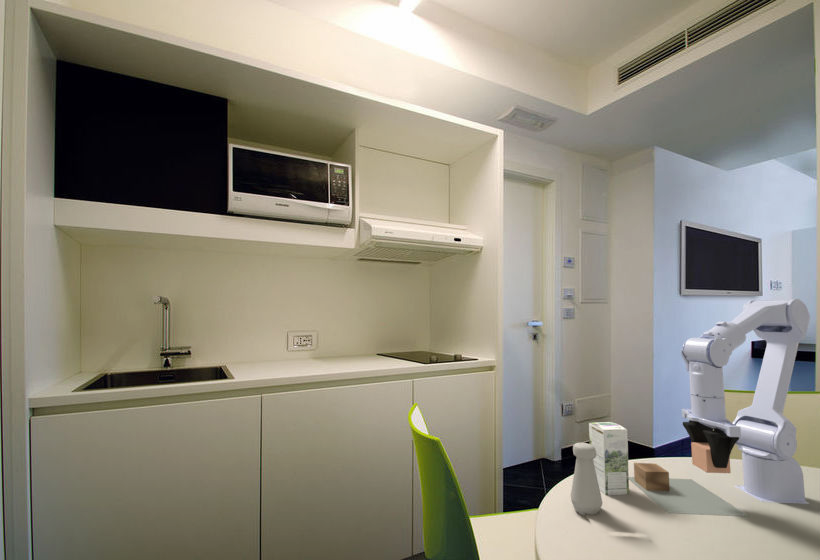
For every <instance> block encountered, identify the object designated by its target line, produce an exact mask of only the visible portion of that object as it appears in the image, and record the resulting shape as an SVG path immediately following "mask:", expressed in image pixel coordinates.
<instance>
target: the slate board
mask: <svg viewBox="0 0 820 560" xmlns="http://www.w3.org/2000/svg"><path fill="white" fill-rule="evenodd" d="M629 481H630V482H631V483H632V484H633V485H635V487H636V488H638V489H639V490H640V491H642V492H643V493H644V494H645V495H647V497H648V498H650V499H651V500H652V501H653V502H655V504H657V505H658V506H659V507H661V508H662V509H663V510H664V511H665V512H667V513H668V514H674V515H675V514H678V515H679V514H680V515H704V516H706V515H708V516H729V517H731V516H732V517H749V515H748V514H746V513H745V512H744V511H742V510H740V508H737V507H735V506H734V505H733V504H731V503H729V502H728V501H726V500H725V499H723V498H722V497H720V496H718V495H717V494H715V493H713V492H712V491H711V490H710V489H707V488H706V487H704V485H703V486H702V485H701V484H700V483H699V482H697V481H695V480H693V479H692V478H691V479H690V478H670V477H669V488H670V491H653V490H645V489H644V488H643V487H642V486H640V485H639V484H638V483H637V482H636V481H635V479H634V476H629Z"/></svg>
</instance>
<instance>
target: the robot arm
mask: <svg viewBox="0 0 820 560" xmlns="http://www.w3.org/2000/svg"><path fill="white" fill-rule="evenodd" d="M742 306H743V307H742V312H740V313H739V314H738V315H737V316H736V317H734V318H733V319H732V320H731V321H725V320H724V321H723V320H721V321H717V322H716V323H715V325H714V326H713V327H711V328H710V329H709V330H707V331H704V332H703V333H702V334H701V335H700V336H699V337H690V338H688V339H687V340H685V341H684V343H683V344H682V348H681V350H680V354H681V357H682V360H683V361H684V363H685V369H686V371H687V372H688V374H689V375H688V376H689V390H690V391H689V394H690V407H691V408H682V409H681V417H682V418H683V419H687V420H688V421H683V422H682V426H683V427H684V429H685V430H686V432H687V435H688V436H689V438H690V442H698V443H709V447H710V451H711V457H712V462H713V465H714V467H716V468H727V464H728V460H729V457H730V456H731V454H732V452H733V448H734V447H735V445H736V446H737V450H739V451H741V459H742V474H743V475H742V476H743V484H742V485H741V484H735V485H733V487H735V488H736V489H738V490H740V491H742V492H744V493H746V494H748V495H749V496H751V497H752V498H754V499H756V500H757V501H759V502H761V503H781V504H783V503H784V504H808V505H810V502H808V501H806V493H805V480H804V473H803V469H802V466H801V465H800V463H799V462H798V460H796V459H795V458H794V457H793V456H795V453H796V452H797V448H798V444H797V427H796V426H795V424H794V423H793V422H792V421H791V420H790V419H788V417H787V416H786V415H784V409H785V405H786V401H787V397H788V393H789V392H788V391H789V386H790V382H791V379H792V375H793V370H794V366H795V360H796V357H797V353H798V347H799V343H800V342H801V341H803V340H805V339H806V335H807V332H808V327H809V323H810V320H811V316H810V312H809V310H808V307H807V305H806V304H805V302H803V301H802V300H801V299H798V298H792V299H774V300H773V299H772V300H755V299H751V300H749V301H748V302H746V303H745V304H743V305H742ZM752 331H753V332H754V333H755V335H756V337H758V338H760V339H762V340H764V341H766V347H765V351H764V355H763V358H762V363H761V367H760V371H759V375H758V378H757V379H758V380H757V383H756V388H755V391H754V395H753V400H752V403H751V405H749V406H747V407H745V408H742V409H739V410H738V411H737V414H736V417H735V419H734V420H733V421H730V420H729V419H728V418H727V414H726V413H727V412H726V399H725V384H724V383H725V382H724V368H723V367H724V366H727V364H728V363H729V361H730V357H731V355H732V353H733V351H734V350H736V349H738V348H739V347H740V346H742V345H743V344H744V343H745V342H746V339H747V336H746V335H747V334H749V333H750V332H752Z"/></svg>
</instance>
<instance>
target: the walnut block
mask: <svg viewBox="0 0 820 560" xmlns="http://www.w3.org/2000/svg"><path fill="white" fill-rule="evenodd" d="M633 473H634V476H633V477H634V479H635V481H636V482H637V483H638V484H639V485H640V486H642V487H643V488H644V489H645V490H653V491H670V488H669V478H670V472H669V471H668V470H666V469H664V468H663V467H662V466H660V465H659V464H657V463H651V462H650V463H649V462H648V463H646V462H645V463H643V462H634V463H633Z"/></svg>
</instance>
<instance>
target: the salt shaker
mask: <svg viewBox="0 0 820 560" xmlns="http://www.w3.org/2000/svg"><path fill="white" fill-rule="evenodd" d="M572 452H573V456H575V457H576V459H575V464H574V465H575V466H574V472H573V478H572V484H571V489H570V501H571V504H572V506H573V509H574V511H575V512H576V513H578V514H579V515H581V516H584V517H587V516H588V515H597V514H598V513H600V511H601V508H602V506H603V499H602V494H601V493H602V492H600V489H599V484H598V480H597V475H596V470H595V466H594V461H593V459H594V458H596V449H595V447H594V446H593V445H591V444H589V443H586V442H576V443H574V444H573V445H572Z"/></svg>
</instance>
